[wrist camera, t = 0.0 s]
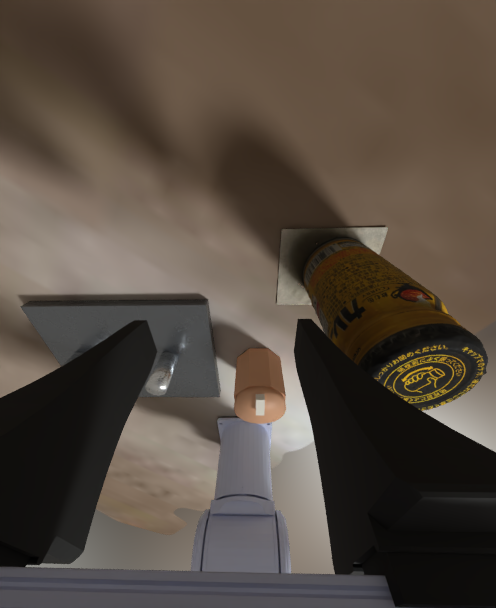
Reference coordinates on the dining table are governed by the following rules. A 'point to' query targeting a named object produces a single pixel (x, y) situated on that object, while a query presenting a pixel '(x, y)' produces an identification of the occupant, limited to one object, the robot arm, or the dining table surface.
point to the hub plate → (164, 328)
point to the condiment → (379, 314)
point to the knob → (259, 386)
